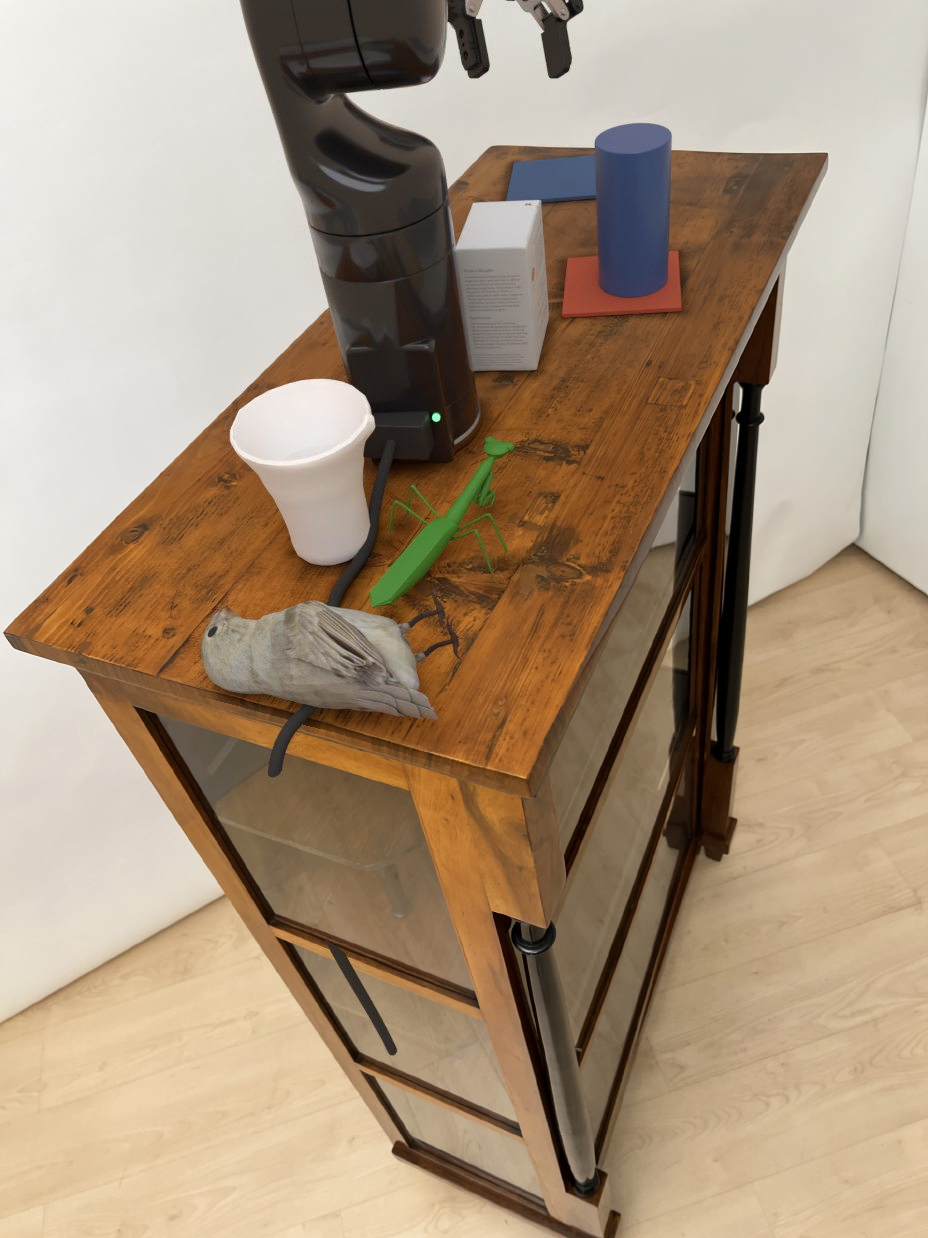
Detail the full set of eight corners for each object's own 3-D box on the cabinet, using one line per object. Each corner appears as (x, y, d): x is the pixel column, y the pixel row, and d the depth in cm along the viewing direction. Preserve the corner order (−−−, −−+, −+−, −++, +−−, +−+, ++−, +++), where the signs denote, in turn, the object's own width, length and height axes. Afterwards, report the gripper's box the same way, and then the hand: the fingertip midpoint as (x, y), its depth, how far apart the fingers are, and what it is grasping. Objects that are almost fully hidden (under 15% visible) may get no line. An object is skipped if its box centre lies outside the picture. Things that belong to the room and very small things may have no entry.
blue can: (668, 295, 80) (672, 149, 72) (597, 299, 82) (593, 156, 73) (667, 261, 84) (671, 118, 76) (599, 265, 86) (595, 125, 77)
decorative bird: (202, 578, 57) (155, 682, 53) (451, 573, 52) (421, 688, 47) (242, 631, 61) (201, 731, 57) (477, 631, 56) (451, 742, 51)
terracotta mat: (681, 311, 79) (681, 306, 79) (561, 317, 81) (561, 313, 81) (678, 254, 86) (678, 250, 86) (567, 261, 88) (567, 257, 87)
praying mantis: (565, 512, 64) (563, 457, 61) (437, 653, 56) (428, 598, 53) (453, 474, 69) (446, 420, 65) (319, 600, 60) (304, 546, 57)
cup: (382, 586, 61) (348, 463, 54) (252, 576, 63) (202, 456, 56) (419, 497, 67) (392, 375, 59) (298, 491, 69) (258, 372, 62)
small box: (487, 321, 82) (471, 200, 75) (551, 319, 81) (542, 196, 73) (469, 372, 77) (451, 248, 70) (537, 372, 76) (526, 245, 68)
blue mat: (603, 197, 96) (603, 193, 96) (506, 205, 98) (505, 201, 97) (605, 157, 103) (605, 153, 102) (514, 165, 104) (514, 161, 104)
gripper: (431, -189, 68) (477, 54, 72) (578, -164, 76) (614, 56, 79) (382, -127, 75) (426, 93, 78) (522, -110, 82) (558, 92, 85)
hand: (521, 74), depth 79 cm, fingers open, 8 cm apart
